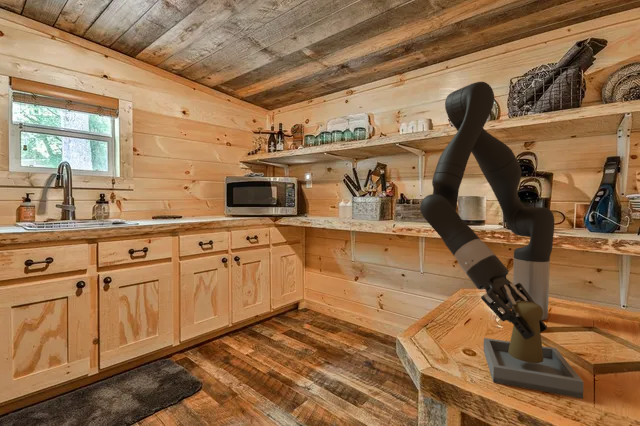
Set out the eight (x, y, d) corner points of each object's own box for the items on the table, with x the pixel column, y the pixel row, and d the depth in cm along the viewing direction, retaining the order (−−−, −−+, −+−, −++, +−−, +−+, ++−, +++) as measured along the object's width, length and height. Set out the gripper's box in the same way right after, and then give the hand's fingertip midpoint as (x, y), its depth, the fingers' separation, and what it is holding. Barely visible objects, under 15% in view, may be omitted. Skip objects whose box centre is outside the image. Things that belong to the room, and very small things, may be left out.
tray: (483, 350, 74) (483, 337, 74) (555, 361, 69) (556, 348, 69) (493, 382, 61) (493, 366, 61) (583, 398, 56) (583, 381, 56)
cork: (549, 364, 61) (552, 308, 61) (514, 361, 62) (517, 305, 62) (535, 350, 67) (537, 299, 67) (503, 347, 68) (505, 296, 68)
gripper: (474, 256, 66) (537, 333, 57) (507, 251, 74) (567, 318, 65) (450, 276, 71) (505, 351, 61) (484, 269, 79) (537, 334, 69)
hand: (536, 333), depth 63 cm, fingers closed on cork, 5 cm apart
